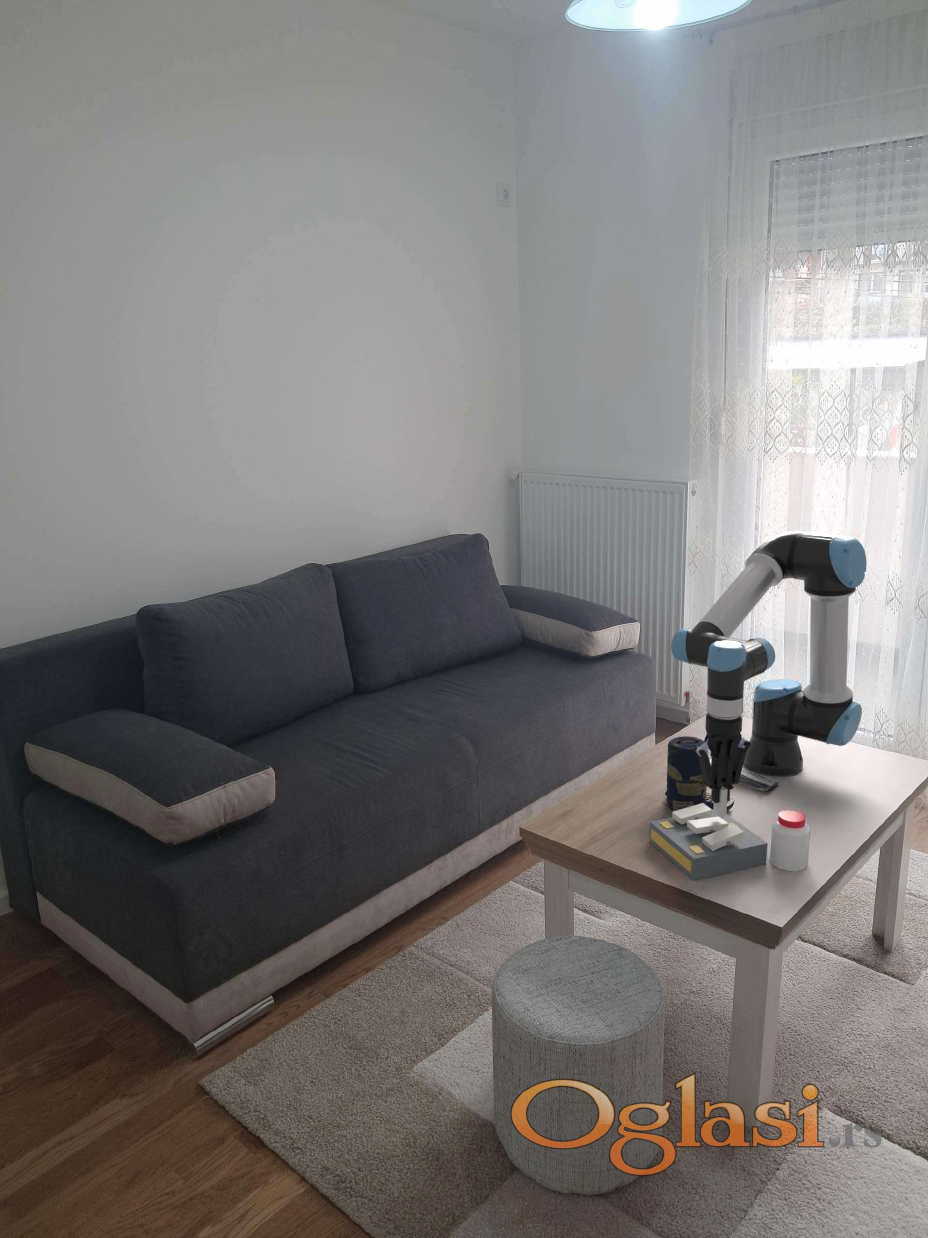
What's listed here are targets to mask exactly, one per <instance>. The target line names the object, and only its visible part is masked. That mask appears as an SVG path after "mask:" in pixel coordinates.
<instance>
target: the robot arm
mask: <svg viewBox="0 0 928 1238" xmlns="http://www.w3.org/2000/svg"><path fill="white" fill-rule="evenodd" d="M744 564H745V565H744V569H743V570H742V571H741V572H740V573H739V574H738V576H737V577H736V578H735V579H734V580H733V582H732V583H731V584H730V585H729V586H728V587H727V589H726V590H725V591H724V592H723V594H722V595H721V596H720V597H719V598H718V599H717V600H716V602H715V603H714V604H713V605H712V606H711V608H710V609H709V610H708V611H707V612H706V613H705V614H704V616H703V617H702V618H701V620H699V622H698V623H697V624H696V625H695V626H694V627H693V628H692V629H691V628H680V629H678V630H676V631H675V632H674V635H673V637H672V639H671V641H670V642H671V643H670V650H671V654H672V657H673V658H674V659H675V660H677V661H680V662H683V663H686V664H688V665H696V666H700V667H705V668H707V673H706V674H707V675H706V676H707V677H706V678H707V680H706V681H707V682H706V683H707V685H706V686H707V688H706V689H707V690H706V708H705V710H706V714H705V731H706V732H705V733H706V734H705V738H704V739H703V741H704V744H702V745H701V746H700V747H698V746H696V747H695V748H694V750H695V752H696V754H697V755H698V758H699V763H700V768H701V773H702V778H703V783H704V785H706V786H707V788H709V789H710V790H711V791H710V792H711V793H710V795H711V797H710V800H711V802H713V808H712V809H713V813H714V814H716V815H717V816H718V817H720V818H723V817H726V814H727V810H728V809H727V808H728V802H729V801H730V799H731V790H733V789H734V786H733V785H738V784H739V782H740V779H741V776H742V775H741V774H742V772H743V767H744V766H745V767H746V768H747V769H749V770H750V771H753V772H755V773H757V774H762V775H766V776H775V777H787V776H793V775H796V774H799V773H800V772H802V771H803V768H804V767H803V766H804V758H803V755H802V751H801V747H800V744H799V737H802V738H804V739H805V738H806V739H810V740H813V741H817V742H821V743H825V744H826V745H834V746H838V747H843V746H846V745H848V744H849V743H850V742H851V741H852V739H853V738H854V736H855V735H856V733H857V731H858V728H859V726H860V724H861V720H862V713H863V708H862V706H861V704H860V703H859V702H857V701H853V700H854V699H853V698H854V696H853V695H854V693H853V690H852V689H851V688H850V687H849V686H847V682H848V681H847V677H848V673H847V672H848V671H847V670H848V642H849V641H848V639H849V637H848V635H849V633H848V632H849V598H850V596H852V595H853V594H854V593H855V592H856V590H857V589H856V588H857V587H858V588H859V587H860V586H861V585H862V584H863V582H864V580H865V576H866V574H865V573H866V572H867V566H868V565H867V554H866V551H865V548H864V546H863V544H862V543H861V542H860V541H859V540H858V539H857V538H855V537H852V536H846V535H845V536H844V535H842V534H832V533H820V532H819V533H818V532H809V531H804V530H803V531H802V530H793V531H787V532H784V533H780V534H779V535H776V536H774V537H772V538H770V539H769V540H766V541H765V542H763V543H762V544H761V545H759V546H758V547H757V548H756V549H755V550H753V551H752V553H751V554H750V555H749V556H748V557H747V559H746V560H745V563H744ZM785 579H794V580H799V581H803V591H804V593H806V594H807V595H808V596H809V597H810V615H809V617H810V625H809V626H810V627H809V629H810V630H809V631H810V632H809V633H810V634H809V637H810V638H809V642H810V643H809V644H810V645H809V684H808V685H807V686H806V687H804V689H803V686H802V683H801V682H799V681H798V680H795V679H783V678H782V679H780V678H779V679H771V680H765V681H762V682H760V683H759V684H757V685H756V686H755V688H754V691H753V699H752V702H753V703H752V704H753V706H752V721H751V722H752V723H751V724H752V725H751V735H750V736H751V737H750V738H749V740H748V739H746V738H744V737H743V735H742V734H741V733H742V730H743V716H742V715H743V714H744V692H745V691H744V689H745V688H744V687H745V681H748V680H749V679H751V678H755V677H756V676H759V675H761V674H764V673H765V672H766V671H767V670H769V669H771V668H772V666H773V665H774V663H775V662H776V661H775V660H776V652H775V648H774V646H773V645H772V643H771V642H769V641H768V640H767V639H765V638H762V637H754V638H749V639H748V640H744V639H738V638H734V637H731V636H732V635H733V633H734V632H735V631H736V630H737V629H738V628H739V626H740V625H741V624H742V623H743V622H744V620H745V619H746V617H748V615H749V614H751V612H752V610H753V609H754V608H755V607H756V606H757V604H758V603H759V602H760V601H761V599H763V597H764V596H765V595H766V593H767V592H768V591H769V589H771V588H772V587H776V586H778V585H779V584H780V583H781V582H782V581H783V580H785ZM709 751H710V752H709ZM709 754H710V756H709ZM709 757H710V758H709ZM710 759H711V761H710Z"/></svg>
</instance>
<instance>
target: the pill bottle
mask: <svg viewBox="0 0 928 1238" xmlns="http://www.w3.org/2000/svg"><path fill="white" fill-rule="evenodd" d="M806 818H807V817H806V815H805V814H804V813H802V812H801V811H799V810H795V809H794V810H793V809H792V810H791V809H786V810H785V809H784V810H780V811H779V812H778V817H777V819H775V820H774V821H773V822H772V826H771V837H770V838H771V839H770V852H769V853H770V854H769V862H770V863H771V864H772V866H774V867H775V868H777V869H779V870H781V871H787V872H802V871H803V870H805V869H807V868H808V866H809V856H810V855H809V854H810V853H809V852H810V840H811V827H810V826H809V824H807V822H806Z"/></svg>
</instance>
